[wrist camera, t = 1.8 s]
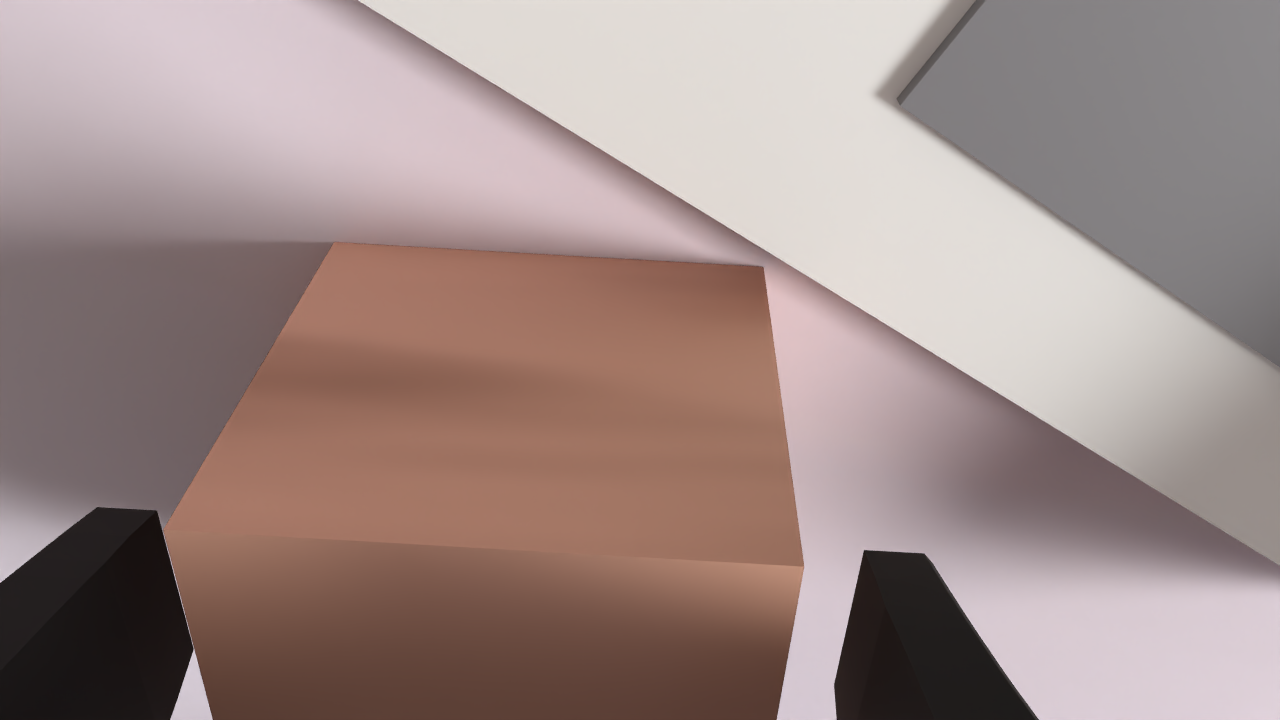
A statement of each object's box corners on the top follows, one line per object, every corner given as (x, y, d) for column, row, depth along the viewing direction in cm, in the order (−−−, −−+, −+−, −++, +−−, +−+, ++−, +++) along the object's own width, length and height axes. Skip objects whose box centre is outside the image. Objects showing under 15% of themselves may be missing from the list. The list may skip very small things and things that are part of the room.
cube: (724, 574, 15) (739, 919, 11) (373, 554, 15) (258, 891, 11) (762, 263, 13) (804, 566, 8) (336, 238, 13) (163, 529, 8)
